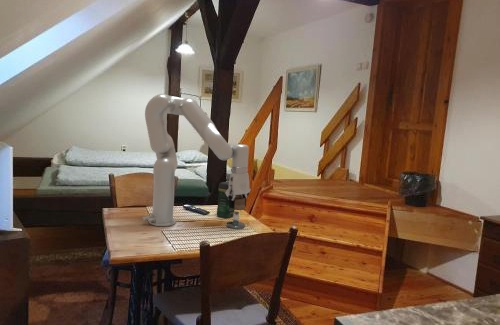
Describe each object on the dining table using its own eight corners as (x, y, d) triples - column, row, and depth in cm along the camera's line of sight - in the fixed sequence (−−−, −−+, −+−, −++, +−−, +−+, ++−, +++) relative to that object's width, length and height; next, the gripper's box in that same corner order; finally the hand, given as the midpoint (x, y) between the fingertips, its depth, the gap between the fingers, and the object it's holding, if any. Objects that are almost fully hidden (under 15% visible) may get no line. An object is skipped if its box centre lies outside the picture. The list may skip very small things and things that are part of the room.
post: (235, 230, 166) (236, 215, 165) (222, 225, 172) (223, 211, 172) (248, 227, 173) (249, 212, 172) (235, 222, 179) (236, 208, 178)
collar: (237, 210, 167) (237, 200, 166) (227, 207, 171) (227, 197, 171) (247, 208, 172) (248, 198, 171) (237, 205, 176) (238, 195, 176)
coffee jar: (226, 219, 183) (229, 183, 181) (214, 216, 187) (216, 181, 185) (236, 215, 192) (239, 181, 189) (224, 212, 195) (226, 179, 193)
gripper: (231, 172, 161) (229, 211, 163) (257, 170, 173) (255, 206, 175) (220, 170, 166) (218, 207, 168) (246, 168, 178) (244, 203, 180)
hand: (237, 206), depth 171 cm, fingers closed on collar, 7 cm apart
